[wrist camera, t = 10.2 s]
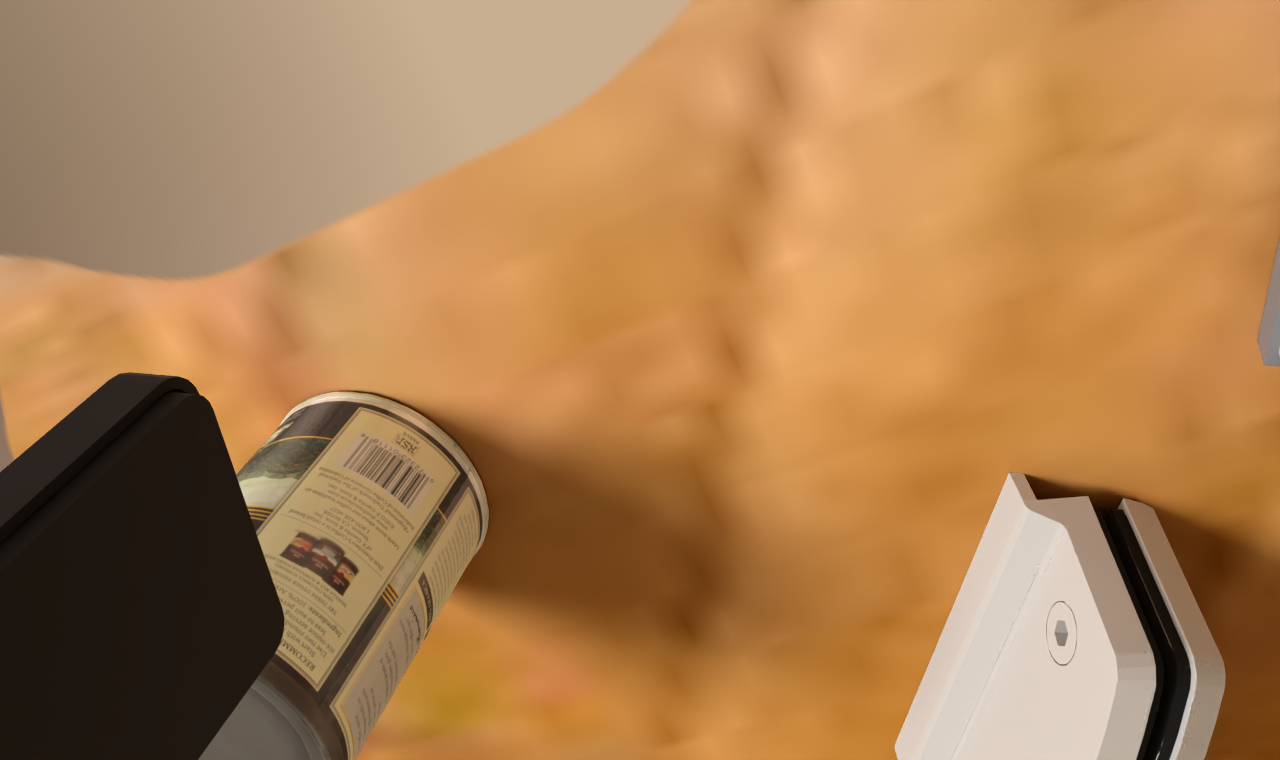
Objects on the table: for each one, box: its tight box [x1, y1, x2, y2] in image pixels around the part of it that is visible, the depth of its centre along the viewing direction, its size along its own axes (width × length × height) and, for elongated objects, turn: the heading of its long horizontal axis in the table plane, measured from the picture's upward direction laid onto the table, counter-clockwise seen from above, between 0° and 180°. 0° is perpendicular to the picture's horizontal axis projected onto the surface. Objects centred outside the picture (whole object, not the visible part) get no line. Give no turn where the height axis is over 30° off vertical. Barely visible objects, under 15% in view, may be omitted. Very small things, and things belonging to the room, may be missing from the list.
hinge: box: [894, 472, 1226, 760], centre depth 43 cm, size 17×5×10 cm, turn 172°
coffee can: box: [198, 391, 489, 760], centre depth 46 cm, size 10×10×14 cm
